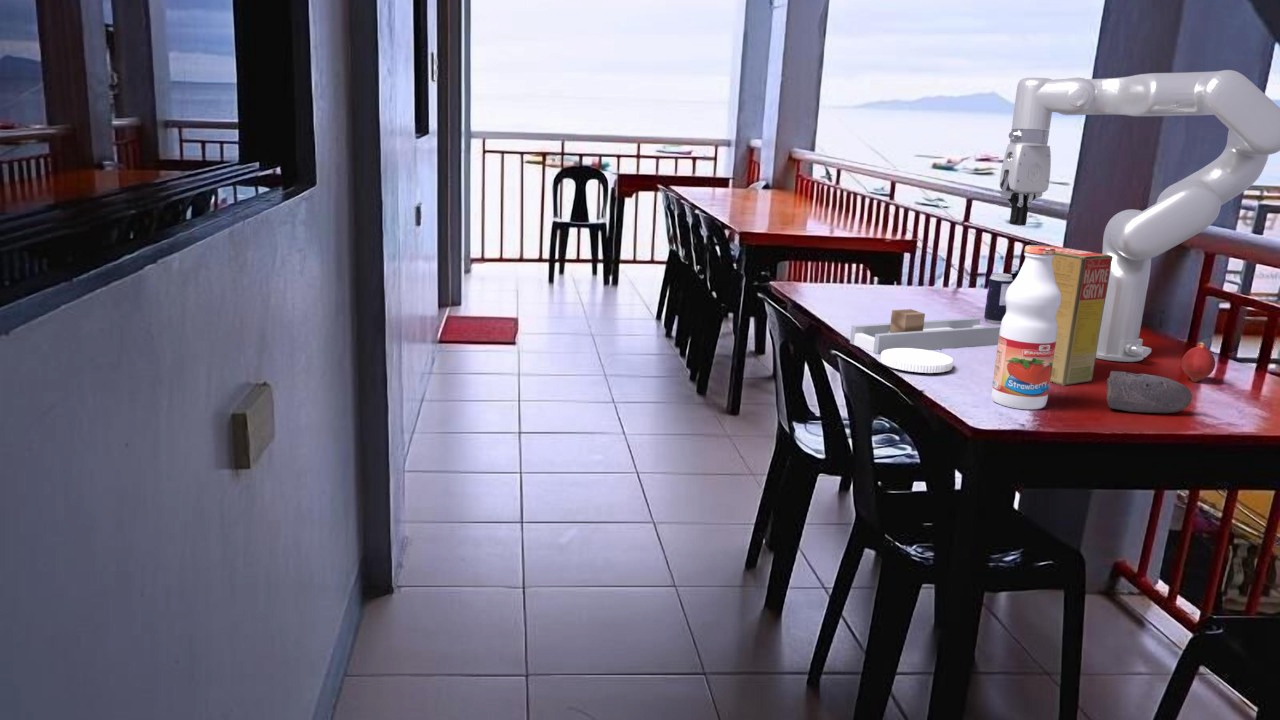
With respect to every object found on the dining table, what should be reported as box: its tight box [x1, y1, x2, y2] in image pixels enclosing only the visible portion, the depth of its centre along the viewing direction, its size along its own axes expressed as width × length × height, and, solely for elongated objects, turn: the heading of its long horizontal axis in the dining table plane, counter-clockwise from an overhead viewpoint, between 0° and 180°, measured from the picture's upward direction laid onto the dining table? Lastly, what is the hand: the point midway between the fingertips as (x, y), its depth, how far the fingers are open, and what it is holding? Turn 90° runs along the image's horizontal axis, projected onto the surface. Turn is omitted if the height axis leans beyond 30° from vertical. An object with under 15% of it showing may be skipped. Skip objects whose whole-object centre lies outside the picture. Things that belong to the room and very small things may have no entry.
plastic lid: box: [880, 348, 954, 374], centre depth 194 cm, size 14×14×2 cm
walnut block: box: [890, 308, 926, 333], centre depth 211 cm, size 5×5×5 cm
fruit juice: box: [990, 244, 1061, 410], centre depth 168 cm, size 9×9×28 cm
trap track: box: [849, 317, 1001, 355], centre depth 214 cm, size 10×35×4 cm, turn 113°
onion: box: [1180, 342, 1216, 382], centre depth 190 cm, size 6×6×8 cm
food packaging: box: [1048, 245, 1113, 387], centre depth 188 cm, size 13×9×25 cm
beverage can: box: [983, 272, 1014, 325], centre depth 239 cm, size 6×6×12 cm
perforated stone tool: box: [1105, 370, 1193, 414], centre depth 168 cm, size 15×5×7 cm, turn 82°
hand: (1017, 224), depth 208 cm, fingers closed
